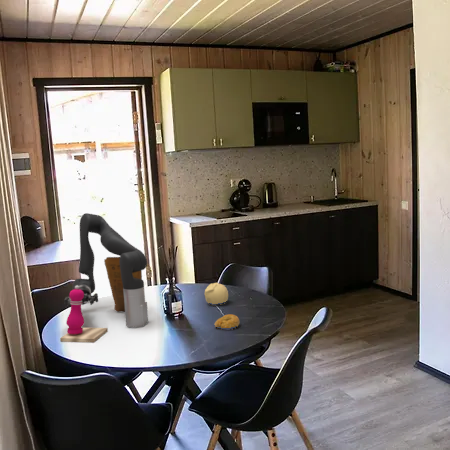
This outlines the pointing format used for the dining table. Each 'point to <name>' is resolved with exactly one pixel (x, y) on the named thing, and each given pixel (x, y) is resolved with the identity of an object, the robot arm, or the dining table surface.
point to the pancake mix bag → (117, 281)
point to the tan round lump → (216, 293)
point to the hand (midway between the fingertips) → (80, 303)
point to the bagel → (227, 321)
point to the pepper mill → (75, 312)
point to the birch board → (85, 335)
